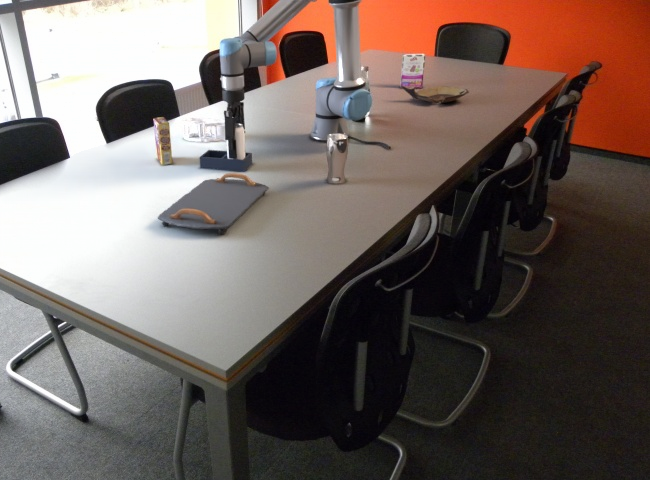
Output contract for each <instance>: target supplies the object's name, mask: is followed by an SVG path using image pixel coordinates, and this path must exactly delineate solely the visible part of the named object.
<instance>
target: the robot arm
mask: <svg viewBox="0 0 650 480" xmlns="http://www.w3.org/2000/svg"><path fill="white" fill-rule="evenodd" d="M317 1H318V0H278V1H277V2H276V3H275V4H274V5H273V6H272V7H270V9H269V10H267V11H266V12H265V13H264V14H263V15H262V16H261V17H260V18H259V19H257V21H255V22H254V23H253V24H252V25H251V26H250V27H249V28H248V29H247V30H245V31H244V32H243V33H242V34H241V35H240V36H239V35H238V36H235V37H226V38H223V39H221V40H220V42H219V61H220V78H219V80H220V81H221V88H222V90H221V94H222V101H224V102H226V103H227V104H226V105H227V106H226V110H223V116H224V120H225V140H228V150H229V158H233V159H236V158H237V150H236V140H235V128H236V123H240V124H243V128H244V134H246V124H245V123H246V122H245V107H244V106H245V102H243V101H244V100H245V88H244V87H245V73H244V70H245V69H249V68H258V67H267V66H272V65H274V64H275V63H276V61H277V57H278V50H277V47H276V44H275V43H274V42H273V41H271V39H272V38H273V37H274V36H276V35H277V33H278V32H280V31H281V30H282V29H283V28H284V27H285V26H287V24H289V22H291V21H292V20H293V19H294V18H295V17H297V15H298V14H299V13H300V12H301V11H303V10H304V9H305V8H306V7H307V6H308V5H309V4H310V3H316V2H317ZM362 1H363V0H328V4H329V5H330V7H331V8H332V9H333V19H334V20H333V22H334V25H333V26H334V41H335V57H336V58H335V59H336V75H337V76H333V77H323V78H320V79H318V80H317V81H316V83H315V118H314V121H313V124H312V126H311V130H310V139H311V140H313V141H316V142H321V143H327V136H328V135H330V134H337V133H338V134H345V135H347V136H348V139H350V140H352V141H355V142H358V143H361V144H366V145H381V146H383V147H385V148H386V149H388V150H391V148H392V147H391V146H390V145H388V144H387V143H385V142H381V141H375V140H373V141H372V140H371V141H366V140H362V139H359V138H357V137H354V136H351V135H349V134H350V133H349V128H348V125H347V122H346V120H347V121H353V122H355V121H360V120H362V119H364V118H366V116H367V115H368V113H370V110H371V108H372V105H373V96H372V94H371V92H370V91H369V90H368V89H367V82H366V79H365V77H363V76H362V59H361V32H360V14H359V13H360V12H359V11H360V9H359V6H360V4H361V2H362Z"/></svg>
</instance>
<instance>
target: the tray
mask: <svg viewBox="0 0 650 480" xmlns="http://www.w3.org/2000/svg"><path fill="white" fill-rule="evenodd" d="M198 160H199V168H200V169H207V170H216V171H217V170H218V171H229V172H230V171H231V172H243V173H244V172H246V171H247V170H248V169H249V168H250V167H251V166H252V165H253V153H252V152H246V151H245V158H244V159H243V160H239V159H228V158H227V150H218V149H217V150H215V149H208V150H206V152H204V153H203V154H201V155H200V156H199V159H198Z"/></svg>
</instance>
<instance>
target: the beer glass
mask: <svg viewBox="0 0 650 480" xmlns="http://www.w3.org/2000/svg"><path fill="white" fill-rule="evenodd" d="M325 150H326V151H325V153H326V161H327V170H328V171H327V177H326V182H327V183H329V184H332V185H339V184H340V185H341V184H344V183H345V182H346V175H345V168H346V163H347V158H348V153H349V138H348V136H347V135H345V134H338V133H337V134H330V135H328V136H327V142H326V147H325Z"/></svg>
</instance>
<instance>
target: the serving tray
mask: <svg viewBox="0 0 650 480" xmlns="http://www.w3.org/2000/svg"><path fill="white" fill-rule="evenodd" d="M269 189H270V187H269V186H268V185H266V184H262V183H259V182H255V181H253V180H252V179H251V178H250V177H249V176H247V175H245V174H243V173H237V172H229V173H225V174H223V175H222V176H221V177H220V178H219V177H217V178H210V179H209V178H208V179H205V180H203V181H202V182H200V183H199V184H198V185H197V186H195V187H194V188H192V189H191V190H190V191H188V193H186V194H184V195H183V196H182V197H180V198H179V199H178V200H177V201H175V202H174V203H172V204H171V205H170V206H169V207H168V208H167V209H165V210H164V211H163V212H162V213H160V214H159V215H158V216H157V219H158V220H159V221H160V222H161V224H162V225H163V227H164V228H168V227H169V226H170V225H172V226H176V227H181V228H188V229H195V230H217V231H218V233H219V235H221V236H224V235H225V234H226V233H227V229H229V228H230V227H231V226H232V225H234V224H235V223H236V222H237V221H238V220H239V219H240V218H241V217H242V216H243V215H244V214H245V213H246V212H247V211H248V210H249V209H250V208H251V207H252V206H253V205H254V204H255V203H256V202H257V201H258V200H259V199H260V198H261V197H264V196H265V195H266V192H267V191H268V190H269Z"/></svg>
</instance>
